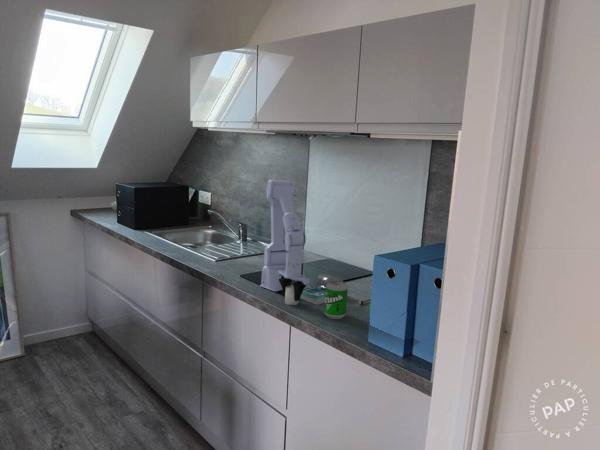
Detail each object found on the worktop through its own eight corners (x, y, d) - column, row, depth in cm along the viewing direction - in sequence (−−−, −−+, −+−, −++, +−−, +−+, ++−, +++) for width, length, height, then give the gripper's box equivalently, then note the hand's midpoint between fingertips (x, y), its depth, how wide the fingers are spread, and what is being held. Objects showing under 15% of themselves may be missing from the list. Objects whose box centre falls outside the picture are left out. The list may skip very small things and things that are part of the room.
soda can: (332, 310, 164) (334, 278, 162) (349, 316, 159) (352, 283, 157) (319, 315, 158) (321, 282, 156) (336, 321, 153) (339, 287, 151)
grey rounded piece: (282, 302, 170) (282, 286, 169) (294, 298, 175) (295, 283, 174) (291, 306, 166) (292, 290, 165) (304, 302, 171) (305, 286, 170)
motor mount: (295, 297, 177) (296, 278, 175) (325, 288, 190) (327, 271, 188) (319, 305, 168) (320, 286, 167) (348, 296, 182) (350, 278, 180)
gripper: (272, 260, 169) (270, 295, 172) (300, 268, 160) (298, 306, 162) (285, 258, 174) (283, 292, 177) (314, 265, 165) (311, 302, 167)
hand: (291, 298), depth 170 cm, fingers closed on grey rounded piece, 5 cm apart
